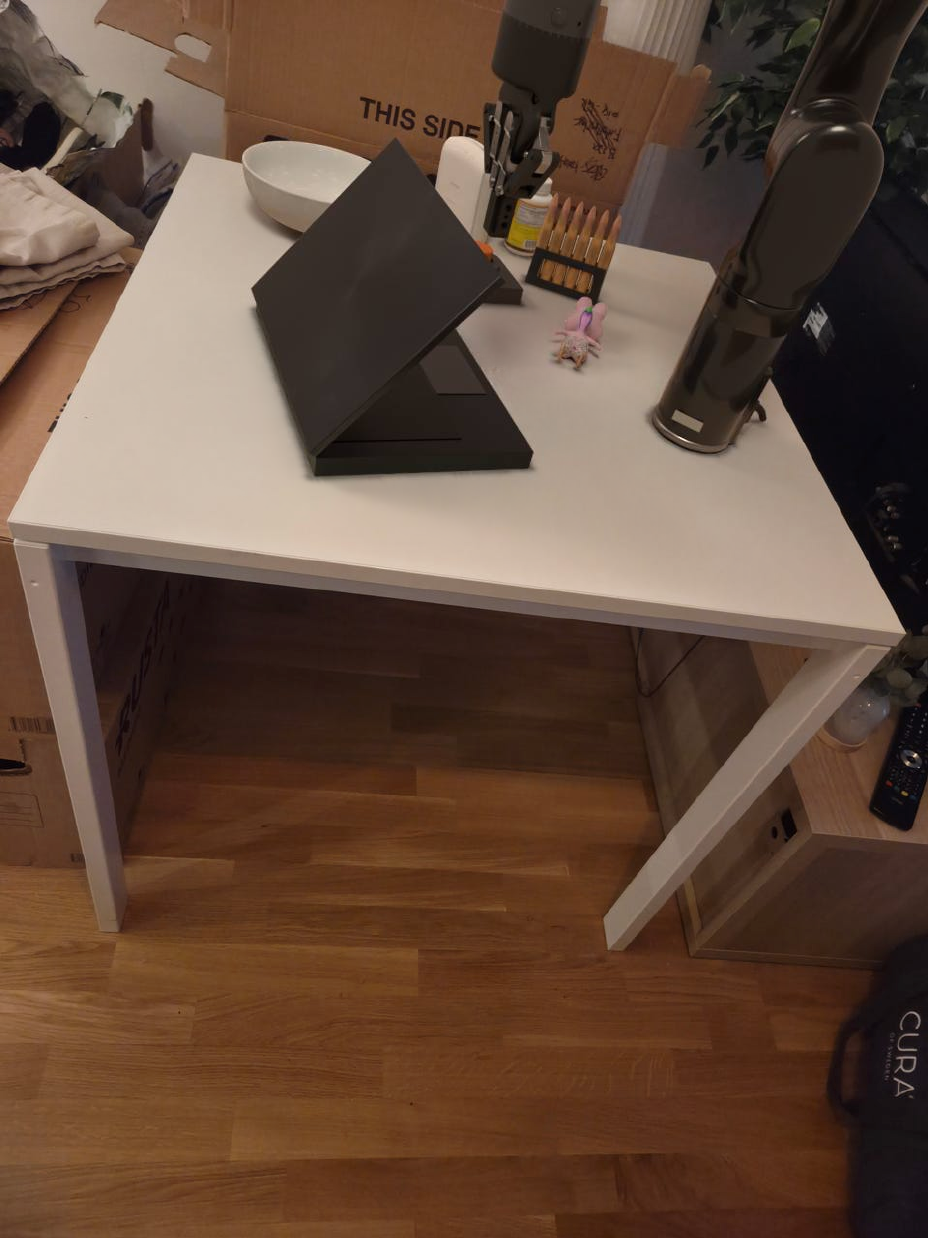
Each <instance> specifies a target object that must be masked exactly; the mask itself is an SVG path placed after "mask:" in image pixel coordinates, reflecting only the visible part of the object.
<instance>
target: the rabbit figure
mask: <svg viewBox="0 0 928 1238" xmlns="http://www.w3.org/2000/svg"><path fill="white" fill-rule="evenodd" d="M592 306H593V308H592ZM574 309H575V311H574V313H572V314H571V315H570V316H569V317H567V318H566V319H565V320H564V322H563V323H564V328H565V329H556V330H555V331H554V334H555V335H557V336H558V335H564V336H565V337H564V338H563V340H561V344H560V345H559V348H558V353H559V354H558V356H556V358H555V360H558V361H557V363H559V362H560V361H561V362H562V363H563V362H564V360H563V358H564V359H567V358H572V359H573V361H574V362H575V364H574V365H573V367H575V366H577V367H576V371H578V369H582V363H583V362H585V360H586V359H587V357H588V355H589V350H590V345H592V346H594V347H595V348H596V349H597V350H598V351H601V350H602V349H603V347H602V345H601V344H600V343H598V342H597V341H599V340H600V339H601V338H602V337H603V334H604V333H603V328H602V322H603V321H604V320H605V318H606V317H607V315H608V305H607V304H606V303H604V302H597V304H596V305H595V306H594V305H592V301H591V299H590V298H588V297H582V298H580V299H579V300H577V302H576V303H575V306H574Z"/></svg>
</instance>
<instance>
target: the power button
mask: <svg viewBox="0 0 928 1238" xmlns="http://www.w3.org/2000/svg"><path fill="white" fill-rule="evenodd" d="M475 242H476V243H477V244H478V246H479V247H480V248H481V250H482V251H483V252H484V254H485V255H486V256H487V258H488V259H489V260H490V262H491V258H492V254H494V248H493V247H492V246H491V245H490V244H488V243H487V242H485V243H483V242H480V241H475Z"/></svg>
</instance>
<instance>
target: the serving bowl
mask: <svg viewBox="0 0 928 1238" xmlns="http://www.w3.org/2000/svg"><path fill="white" fill-rule="evenodd" d="M371 162H372V161H370V160H368V159H366V158H364V157H362V156H360V155H356V154H354V153H350V152H348V151H345V150H342V149H339V148H335V147H332V146H328V145H322V144H317V143H311V142H303V141H292V140H272V141H264V142H260V143H256V144H254V145H251V146H249V147H248V148H247V149H245V150H244V152H242V156H241V164H242V172H243V177H244V182H245V185H246V187H247V190H248V192H249V194H250V195H251V196H252V199H253V201H254V202H255V203H256V204H257V206H259V208H261V210H262V211H263V212H265V213H266V214H267V215H268V216H270V217H271V218H272V219H274V220H275V221H277V222H278V223H280V224H282V225H283V226H286V227H288V228H290V229H292V230H295V231H297V232H301V233H304V232H305V231H306V230H307V229H308V228H309V227H310V226H311V225H312V224H313V223H314V222H315V221H316V220H317V219H318V218H319V217H320V216H321V214H322V213H323V212H324V211H325V210H326V209H327V208H328V207H329V206H330V205H331V204H332V203H333V202H334V201H335V200H336V199H337V198H338V197H339V196H340V195H341V194H342V192H343V191H344V190H345V189H346V188H347V187H348V186H349V185H350V184H351V183H352V182H353V181H354V180H355V179H356V178H357V177H358V176H359V175H360V174H361V173H362V172H363V170H364V169H365V168H366V167H367V166H368V165H369V164H370V163H371Z"/></svg>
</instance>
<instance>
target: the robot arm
mask: <svg viewBox="0 0 928 1238" xmlns="http://www.w3.org/2000/svg"><path fill="white" fill-rule="evenodd" d="M601 5H602V0H504V3H503V8H502V11H501V12H502V13H501V16H500V22H499V26H498V31H497V36H496V41H495V45H494V50H493V54H492V59H491V63H490V68H491V72H492V73H493V75H494V76H495V77H496V78H497V79H498V80H500V81H501V82H502V83H501V87H500V88H499V92H498V100H497V101H496V102H494V103H493V102H487V101H486V102H485V103H484V105H483V108H482V119H483V120H482V121H483V125H482V127H483V128H482V129H483V146H484V171H485V173H486V174H490V179H489V186H490V188H492V190H491V194H490V199H489V203H488V207H487V211H486V216H485V220H484V224H483V228H484V230H485V231H486V232H487V234H488V235H487V236H489V237H490V238H496V239H504V238H506V237H507V236H508V235H509V232H510V228H511V224H512V220H513V217H514V213H515V209H516V205H517V201H518V200H519V199H532V198H533V196H534V195H535V194H536V193H537V191H538V190H539V189H540V188H541V186H542V185H543V184H544V183H545V182H546V180H547V179H548V178H551V176H552V174H553V173H554V172H555V171H556V169H557V168H558V167H559V165H560V162H561V154H560V152H558V151H553V150H551V143H550V142H551V141H550V136H551V135H552V133H553V132H554V128H555V126H556V113H557V106H558V104H559V102H560V101H562V99H569V98H571V97H573V96H574V95H575V93H576V92H577V89H578V85H579V81H580V78H581V75H582V71H583V68H584V64H585V61H586V58H587V53H588V50H589V46H590V43H591V40H592V36H593V32H594V29H595V26H596V22H597V19H598V16H599V15H598V14H599V11H600V7H601ZM927 8H928V0H829V3H828V7H827V9H826V12H825V15H824V18H823V21H822V24H821V27H820V29H819V32H818V35H817V37H816V40H815V42H814V44H813V46H812V49H811V51H810V53H809V56H808V58H807V60H806V62H805V64H804V66H803V69H802V70H801V73H800V75H799V78H798V79H797V82H796V84H795V86H794V89H793V91H792V92H791V95H790V97H789V99H788V101H787V104H786V106H785V108H784V110H783V112H782V114H781V116H780V118H779V121H778V123H777V124H776V127H775V129H774V131H773V133H772V136H771V138H770V140H769V143H768V146H767V149H766V152H765V156H764V165H763V173H764V181H765V184H766V188H765V191H764V192H763V194H762V197H761V199H760V201H759V203H758V205H757V207H756V209H755V210H754V213H753V215H752V217H751V219H750V222H749V223H748V225H747V227H746V230H745V232H744V233H743V235H742V236H741V238H740V239H739V241H737V242H735V243H734V244H732V245H731V246H730V247H729V249H728V250H727V252H726V254H725V256H724V258H723V260H722V263H721V265H720V267H719V269H718V271H717V274H716V276H715V278H714V280H713V282H712V284H711V287H710V289H709V291H708V293H707V295H706V298H705V300H704V303H703V304H702V306H701V309H700V311H699V313H698V315H697V317H696V320H695V322H694V324H693V327H692V328H691V330H690V333H689V335H688V337H687V340H686V341H685V344H684V346H683V348H682V350H681V353H680V355H679V357H678V359H677V362H676V364H675V366H674V368H673V370H672V372H671V375H670V377H669V379H668V381H667V384H666V385H665V388H664V390H663V392H662V395H661V396H660V399H659V400H658V403H657V404H656V405H655V408H654V409H653V412H652V415H651V417H652V422H653V424H654V426H655V427H656V429H657V430H658V431H659V432H660V434H662V435H663V436H664V437H665V438H667V439H669V440H670V441H672V442H673V443H675V444H677V445H679V446H682V447H683V448H687V449H689V450H692V451H695V452H696V451H697V452H702V453H716V452H720V451H722V450H724V449H725V448H726V447H727V446H728V445H729V444H735V442H736V440H737V438H738V436H739V435H740V433H741V431H742V430H743V428H744V426H745V424H749V422H750V420H751V419H752V417H753V415H754V413H755V412H756V413H757V415H758V417H757V418H758V420H759V422H761V423H765V422H766V421H767V420H768V418H767V412H766V409H765V408H764V407H763V405H762V404H761V403H760V402H761V401H760V400H759V398H760V397H761V395H762V394H763V393H764V390H765V388H766V386H767V384H768V383H769V381H770V379H771V378H772V375H773V369H772V367H770V366H771V365H772V363H773V361H774V359H775V357H776V355H777V353H778V352H779V350H780V348H781V347H782V345H783V342H784V341H785V339H786V337H787V335H788V333H789V331H790V329H791V328H792V326H793V324H794V323H795V320H796V319H797V317H798V315H799V314H800V311H801V310H802V308H803V306H804V305H805V303H806V301H807V299H808V298H809V296H810V295H811V293H812V292H813V290H815V289H816V288H817V287H818V286H819V285H820V284H821V283H822V282H823V281H824V280H825V279H826V277H827V276H828V275H829V273H830V272H831V271H832V269H833V267H834V266H835V264H836V263H837V261H838V259H839V257H840V255H841V254H842V252H843V251H844V249H845V247H846V246H847V244H848V243H849V241H850V239H851V237H852V235H854V232H855V230H856V229H857V228H858V225H859V224H860V222H861V220H862V219H863V217H864V215H865V213H866V212H867V211H868V208H869V207H870V204H871V202H872V200H873V198H874V197H875V194H876V192H877V190H878V187H879V185H880V182H881V179H882V175H883V171H884V163H885V156H884V149H883V146H882V143H881V140H880V138H879V136H878V134H877V132H876V131H875V130H874V129H873V125H874V121H875V118H876V115H877V112H878V109H879V107H880V103H881V101H882V98H883V96H884V93H885V91H886V88H887V84H888V83H889V81H890V78H891V75H892V72H893V70H894V67H895V65H896V63H897V61H898V58H899V56H900V54H901V52H902V50H903V48H904V46H905V44H906V41H908V38H909V36H910V35H911V33H912V31H913V30H914V28H915V26H916V24H917V23H918V21H919V20H920V19H921V17H922V16H923V14H924V13H925V12H926V9H927Z"/></svg>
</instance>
